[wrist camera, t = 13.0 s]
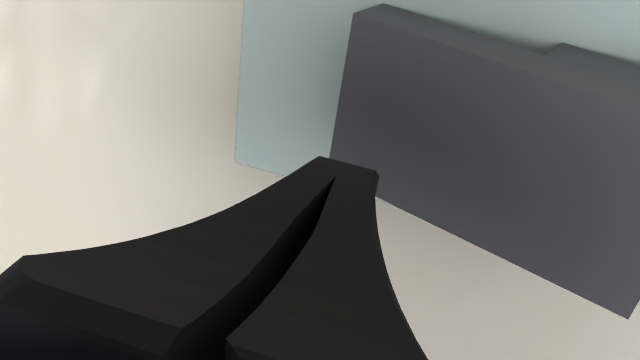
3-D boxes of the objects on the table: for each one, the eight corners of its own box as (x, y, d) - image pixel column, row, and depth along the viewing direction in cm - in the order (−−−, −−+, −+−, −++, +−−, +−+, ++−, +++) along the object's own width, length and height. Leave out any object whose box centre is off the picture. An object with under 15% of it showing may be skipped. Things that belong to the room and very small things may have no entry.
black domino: (382, 3, 17) (737, 117, 13) (354, 154, 19) (639, 285, 16) (353, 13, 15) (732, 141, 12) (326, 172, 18) (628, 319, 14)
